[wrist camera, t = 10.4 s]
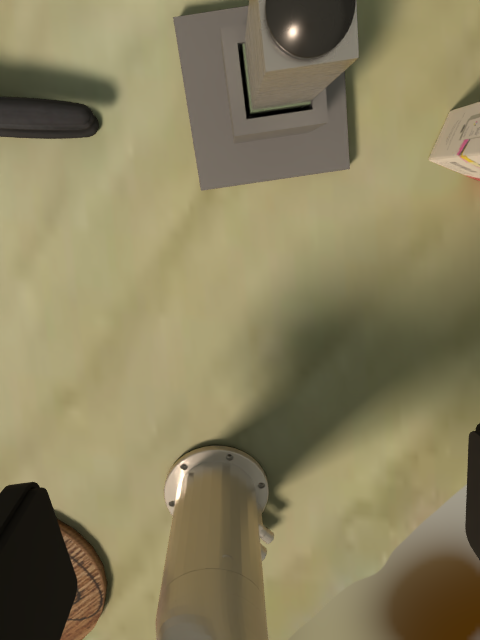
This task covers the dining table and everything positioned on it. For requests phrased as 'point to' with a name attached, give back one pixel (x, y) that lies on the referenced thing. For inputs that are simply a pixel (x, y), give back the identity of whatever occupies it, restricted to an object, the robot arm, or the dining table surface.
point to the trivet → (84, 585)
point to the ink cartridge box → (460, 142)
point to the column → (296, 51)
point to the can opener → (45, 119)
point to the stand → (233, 114)
